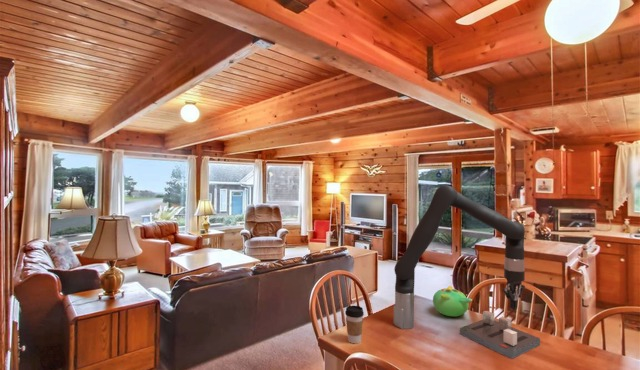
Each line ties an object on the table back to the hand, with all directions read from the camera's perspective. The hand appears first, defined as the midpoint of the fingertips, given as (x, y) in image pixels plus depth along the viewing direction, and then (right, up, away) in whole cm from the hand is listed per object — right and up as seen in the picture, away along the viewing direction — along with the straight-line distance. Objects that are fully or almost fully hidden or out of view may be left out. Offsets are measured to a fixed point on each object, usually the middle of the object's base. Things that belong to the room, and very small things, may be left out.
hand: (513, 308), depth 135 cm
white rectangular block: (-2, -14, -1) cm, 15 cm away
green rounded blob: (-13, -18, +34) cm, 41 cm away
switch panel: (-2, -18, +8) cm, 20 cm away
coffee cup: (-68, -18, +8) cm, 71 cm away
